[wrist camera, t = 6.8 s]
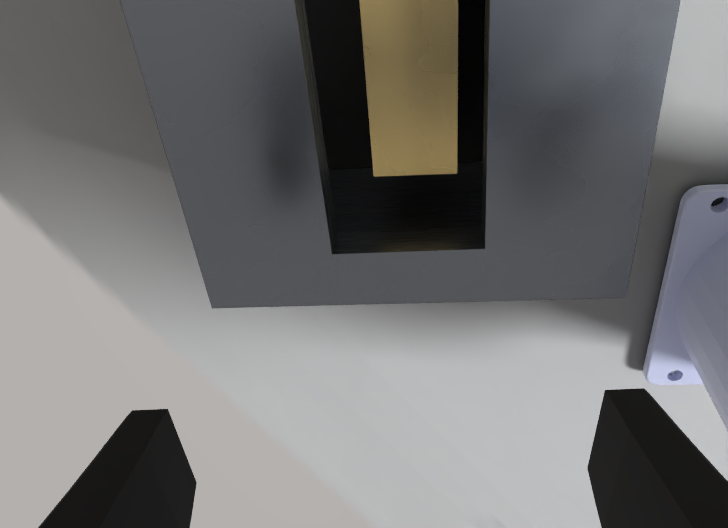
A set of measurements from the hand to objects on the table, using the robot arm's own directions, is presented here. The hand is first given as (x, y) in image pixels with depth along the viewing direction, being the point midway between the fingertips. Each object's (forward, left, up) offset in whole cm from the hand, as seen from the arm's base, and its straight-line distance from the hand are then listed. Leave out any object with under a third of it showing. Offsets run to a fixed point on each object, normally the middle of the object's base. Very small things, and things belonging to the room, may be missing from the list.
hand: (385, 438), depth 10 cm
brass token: (-1, -4, -11) cm, 11 cm away
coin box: (0, -4, -10) cm, 11 cm away
